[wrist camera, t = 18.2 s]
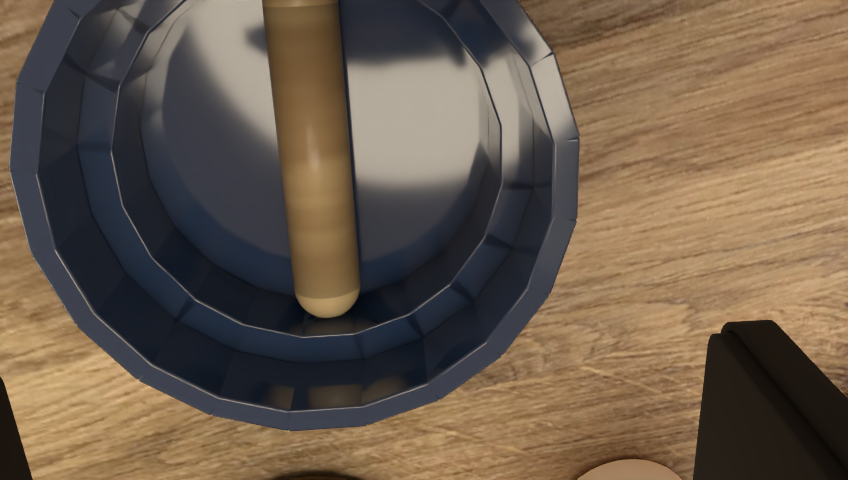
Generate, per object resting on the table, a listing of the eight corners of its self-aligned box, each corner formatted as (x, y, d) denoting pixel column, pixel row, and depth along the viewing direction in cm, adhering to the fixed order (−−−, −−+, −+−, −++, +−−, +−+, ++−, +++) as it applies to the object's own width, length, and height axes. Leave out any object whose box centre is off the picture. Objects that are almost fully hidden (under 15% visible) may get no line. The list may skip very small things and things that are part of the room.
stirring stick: (262, -36, 25) (252, -34, 23) (336, -39, 25) (333, -38, 23) (300, 302, 30) (294, 331, 27) (362, 298, 30) (362, 327, 28)
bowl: (46, -90, 25) (-61, -95, 19) (539, -113, 25) (589, -126, 19) (137, 345, 31) (78, 446, 25) (535, 319, 31) (572, 412, 25)
